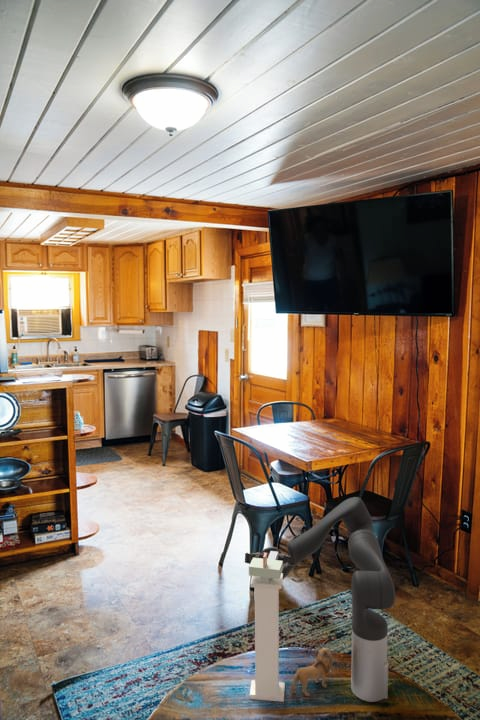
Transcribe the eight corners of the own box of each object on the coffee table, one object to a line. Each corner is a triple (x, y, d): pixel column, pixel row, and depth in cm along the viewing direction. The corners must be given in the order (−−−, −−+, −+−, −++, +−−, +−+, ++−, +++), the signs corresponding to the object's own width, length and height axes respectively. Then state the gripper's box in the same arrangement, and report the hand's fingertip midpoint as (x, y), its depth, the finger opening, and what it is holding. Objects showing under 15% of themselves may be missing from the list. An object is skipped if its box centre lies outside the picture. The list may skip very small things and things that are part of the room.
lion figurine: (322, 670, 154) (322, 641, 153) (336, 681, 150) (337, 650, 149) (284, 695, 145) (284, 663, 144) (299, 706, 141) (299, 674, 140)
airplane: (288, 558, 152) (288, 534, 152) (279, 585, 138) (279, 558, 138) (260, 555, 154) (260, 531, 153) (248, 582, 140) (248, 555, 140)
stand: (284, 685, 148) (284, 573, 145) (283, 702, 143) (283, 585, 139) (251, 683, 150) (250, 571, 146) (249, 699, 144) (248, 583, 140)
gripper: (295, 575, 162) (294, 574, 147) (248, 573, 163) (242, 571, 149) (296, 549, 165) (295, 544, 150) (249, 547, 166) (243, 542, 152)
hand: (268, 558), depth 149 cm, fingers open, 8 cm apart
